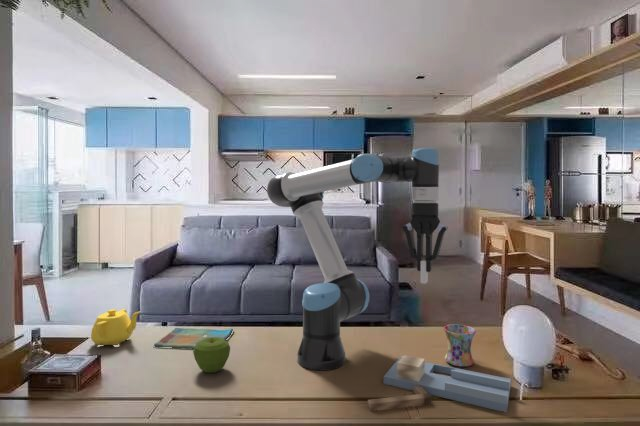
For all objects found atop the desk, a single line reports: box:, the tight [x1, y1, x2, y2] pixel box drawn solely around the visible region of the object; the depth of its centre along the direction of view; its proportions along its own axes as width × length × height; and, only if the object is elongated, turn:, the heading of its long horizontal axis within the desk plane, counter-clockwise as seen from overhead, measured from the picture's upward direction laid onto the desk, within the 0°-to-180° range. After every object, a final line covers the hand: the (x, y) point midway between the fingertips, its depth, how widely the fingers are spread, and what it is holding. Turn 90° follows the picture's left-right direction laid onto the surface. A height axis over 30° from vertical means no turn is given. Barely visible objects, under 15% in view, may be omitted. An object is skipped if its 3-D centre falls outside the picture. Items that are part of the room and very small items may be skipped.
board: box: [383, 356, 512, 413], centre depth 111 cm, size 31×15×4 cm, turn 61°
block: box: [397, 354, 426, 382], centre depth 112 cm, size 6×6×4 cm
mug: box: [443, 323, 477, 367], centre depth 126 cm, size 12×9×11 cm
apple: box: [192, 337, 231, 374], centre depth 120 cm, size 11×10×10 cm
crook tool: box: [367, 386, 433, 412], centre depth 102 cm, size 16×6×2 cm, turn 101°
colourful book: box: [153, 327, 234, 350], centre depth 145 cm, size 17×23×2 cm
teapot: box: [90, 308, 142, 346], centre depth 142 cm, size 14×14×12 cm
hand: (424, 282), depth 118 cm, fingers closed
